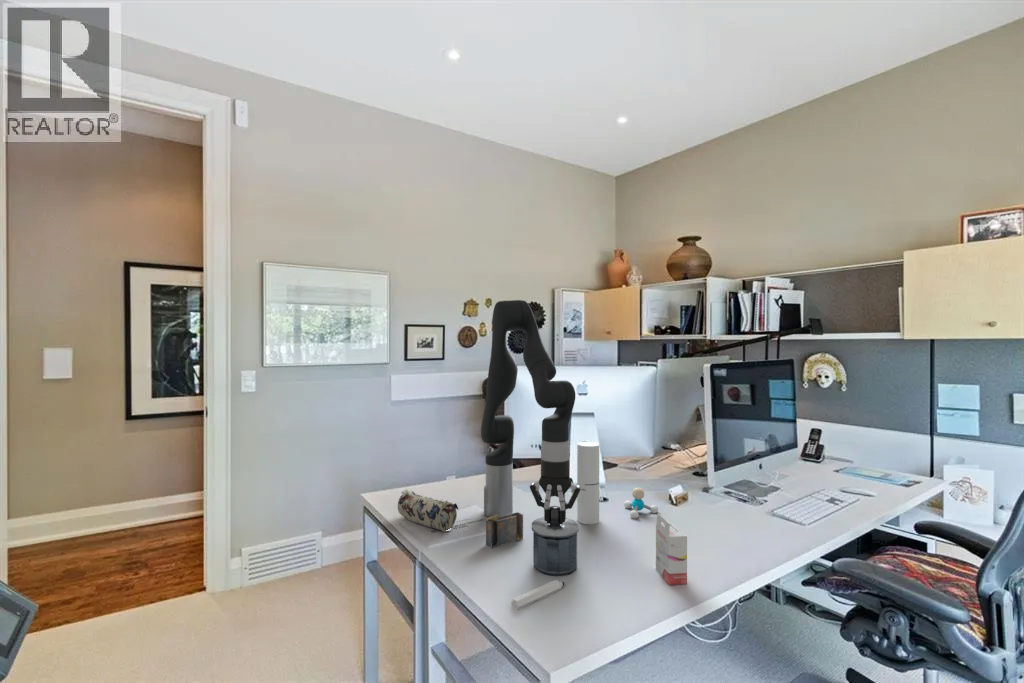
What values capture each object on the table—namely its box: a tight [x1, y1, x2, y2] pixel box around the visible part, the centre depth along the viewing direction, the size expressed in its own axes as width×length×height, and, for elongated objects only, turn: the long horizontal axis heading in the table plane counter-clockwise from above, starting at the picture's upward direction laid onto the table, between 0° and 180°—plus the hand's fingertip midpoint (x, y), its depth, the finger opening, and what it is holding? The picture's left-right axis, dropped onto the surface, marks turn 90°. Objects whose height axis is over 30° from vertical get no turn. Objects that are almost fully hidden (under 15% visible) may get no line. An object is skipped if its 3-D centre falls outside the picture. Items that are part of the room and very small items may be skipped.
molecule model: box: [623, 487, 659, 520], centre depth 166 cm, size 12×12×9 cm
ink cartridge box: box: [655, 512, 688, 586], centre depth 120 cm, size 9×5×15 cm, turn 5°
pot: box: [532, 531, 578, 577], centre depth 126 cm, size 11×14×9 cm
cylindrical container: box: [576, 441, 600, 525], centre depth 158 cm, size 7×7×25 cm
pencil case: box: [397, 489, 459, 532], centre depth 155 cm, size 22×8×10 cm, turn 52°
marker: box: [511, 579, 567, 611], centre depth 111 cm, size 3×2×16 cm
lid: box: [531, 505, 579, 538], centre depth 126 cm, size 12×12×6 cm
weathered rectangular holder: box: [485, 511, 524, 549], centre depth 141 cm, size 11×3×10 cm, turn 125°
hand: (555, 522), depth 126 cm, fingers closed on lid, 3 cm apart
